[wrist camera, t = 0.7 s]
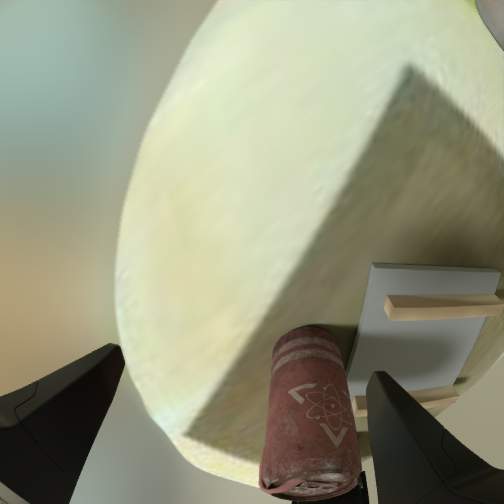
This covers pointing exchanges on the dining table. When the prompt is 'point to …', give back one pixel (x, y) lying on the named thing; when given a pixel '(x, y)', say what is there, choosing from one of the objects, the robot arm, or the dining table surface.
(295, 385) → the can
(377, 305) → the tray
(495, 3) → the pillar candle
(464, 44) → the dining table surface
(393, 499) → the robot arm
